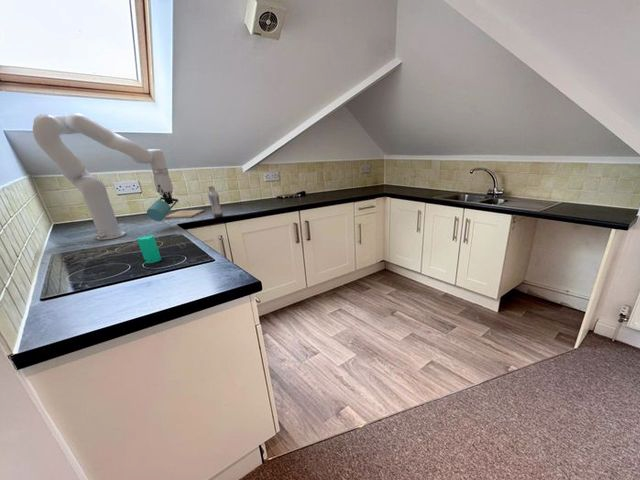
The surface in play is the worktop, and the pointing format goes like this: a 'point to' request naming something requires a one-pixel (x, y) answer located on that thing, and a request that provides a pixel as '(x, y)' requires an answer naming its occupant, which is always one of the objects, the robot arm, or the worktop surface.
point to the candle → (149, 248)
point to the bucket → (160, 209)
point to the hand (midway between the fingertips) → (169, 203)
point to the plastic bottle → (215, 202)
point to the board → (185, 214)
